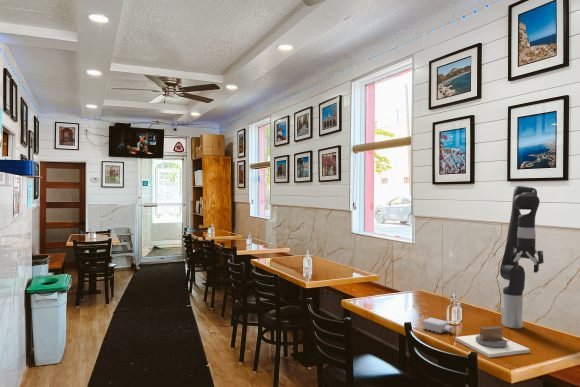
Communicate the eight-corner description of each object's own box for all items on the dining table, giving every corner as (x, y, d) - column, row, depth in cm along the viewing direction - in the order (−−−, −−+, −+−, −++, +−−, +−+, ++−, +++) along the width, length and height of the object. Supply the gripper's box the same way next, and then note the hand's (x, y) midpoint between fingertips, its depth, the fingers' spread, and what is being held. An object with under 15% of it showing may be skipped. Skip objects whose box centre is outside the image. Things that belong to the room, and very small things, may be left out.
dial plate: (455, 340, 200) (455, 336, 200) (492, 336, 206) (492, 332, 206) (489, 357, 179) (489, 353, 179) (529, 352, 185) (529, 348, 185)
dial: (487, 348, 185) (488, 333, 185) (469, 338, 198) (469, 324, 198) (513, 346, 187) (513, 331, 187) (494, 336, 200) (494, 322, 200)
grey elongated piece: (450, 337, 205) (423, 329, 216) (459, 332, 211) (431, 325, 222) (450, 327, 205) (423, 320, 216) (459, 323, 211) (431, 317, 222)
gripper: (507, 236, 200) (506, 269, 200) (538, 238, 189) (538, 274, 189) (514, 235, 205) (514, 268, 205) (546, 237, 193) (545, 272, 193)
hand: (526, 271), depth 197 cm, fingers open, 8 cm apart
